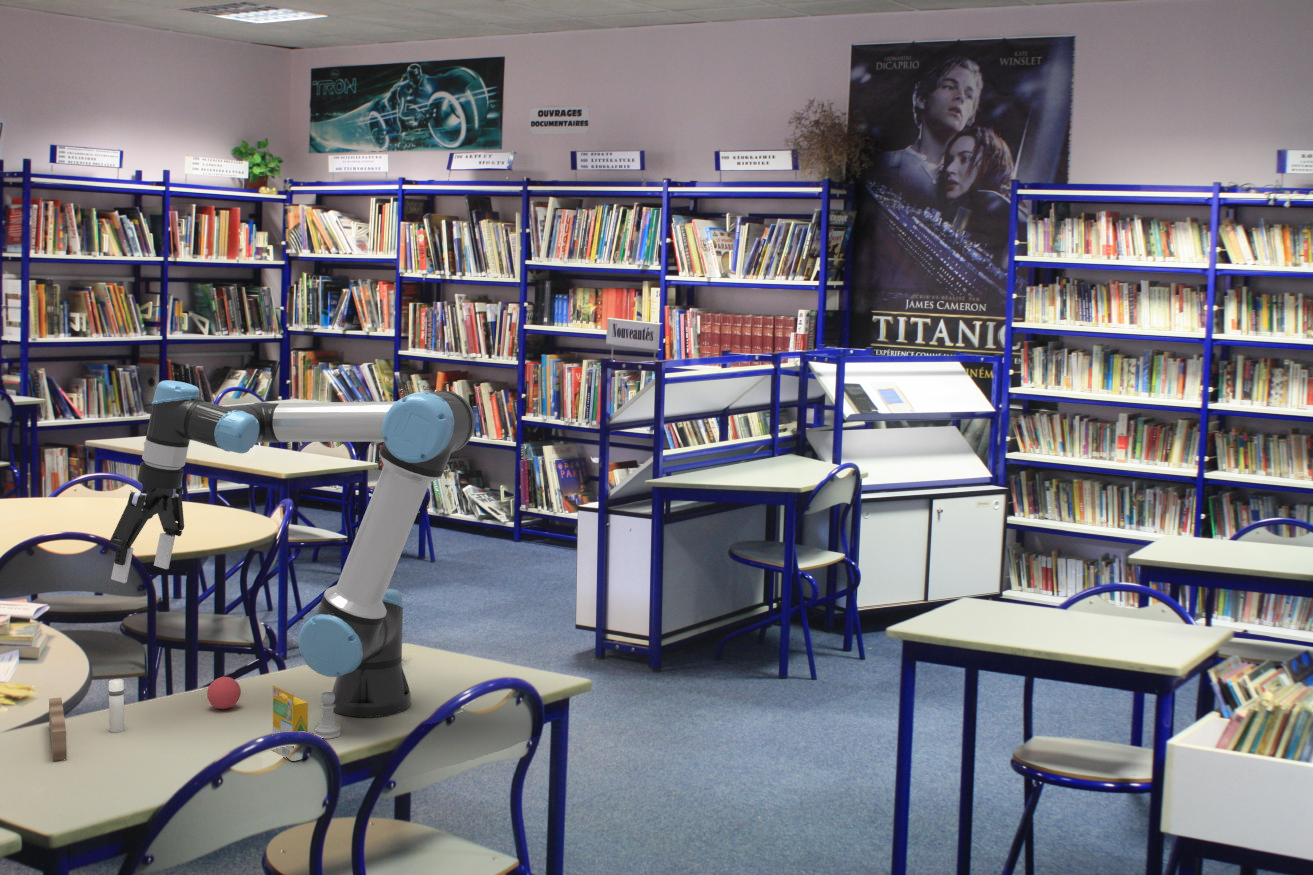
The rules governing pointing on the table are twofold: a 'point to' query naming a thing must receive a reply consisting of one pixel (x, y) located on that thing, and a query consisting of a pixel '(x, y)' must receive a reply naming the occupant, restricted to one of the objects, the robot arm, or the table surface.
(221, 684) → the ball
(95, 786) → the table surface
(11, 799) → the table surface
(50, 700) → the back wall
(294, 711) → the crayon box
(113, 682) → the pin
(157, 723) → the table surface
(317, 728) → the chess piece
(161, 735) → the table surface
